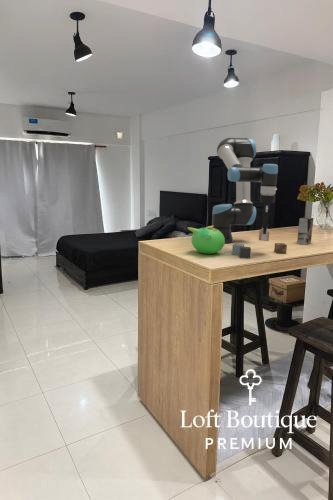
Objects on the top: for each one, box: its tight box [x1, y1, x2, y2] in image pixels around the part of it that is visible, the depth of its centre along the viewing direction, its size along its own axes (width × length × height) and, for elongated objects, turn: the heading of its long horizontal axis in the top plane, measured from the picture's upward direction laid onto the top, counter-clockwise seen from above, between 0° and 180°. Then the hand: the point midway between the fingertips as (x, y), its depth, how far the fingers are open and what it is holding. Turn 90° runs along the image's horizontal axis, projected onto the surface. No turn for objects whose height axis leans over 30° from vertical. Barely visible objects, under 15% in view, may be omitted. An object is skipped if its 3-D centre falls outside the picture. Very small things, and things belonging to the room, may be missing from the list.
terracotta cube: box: [258, 228, 270, 242], centre depth 184 cm, size 5×5×5 cm
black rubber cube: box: [239, 246, 252, 259], centre depth 177 cm, size 5×5×5 cm
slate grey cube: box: [231, 243, 245, 256], centre depth 184 cm, size 5×5×5 cm
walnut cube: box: [273, 242, 288, 255], centre depth 189 cm, size 5×5×5 cm
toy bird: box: [187, 225, 226, 255], centre depth 183 cm, size 18×17×15 cm
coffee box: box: [296, 217, 315, 246], centre depth 217 cm, size 9×6×16 cm
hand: (263, 238), depth 184 cm, fingers closed on terracotta cube, 5 cm apart
